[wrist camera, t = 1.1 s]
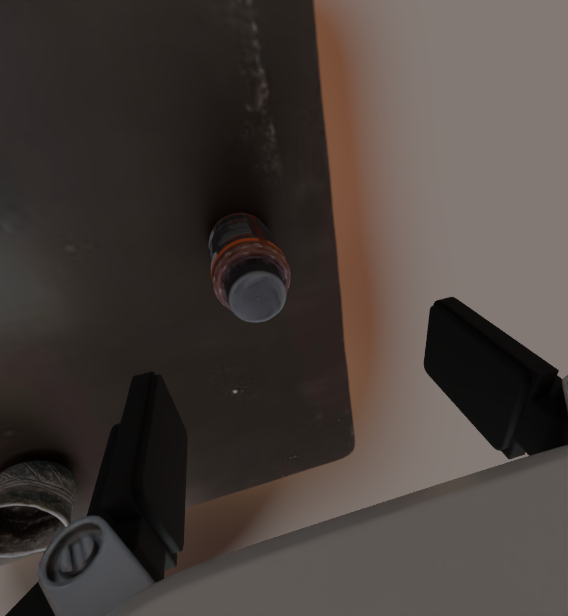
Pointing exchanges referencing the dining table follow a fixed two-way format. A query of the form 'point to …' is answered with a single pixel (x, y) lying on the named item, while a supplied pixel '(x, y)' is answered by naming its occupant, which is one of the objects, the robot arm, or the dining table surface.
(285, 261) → the supplement bottle
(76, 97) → the dining table surface
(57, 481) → the mug
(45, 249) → the dining table surface
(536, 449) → the robot arm
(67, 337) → the dining table surface
